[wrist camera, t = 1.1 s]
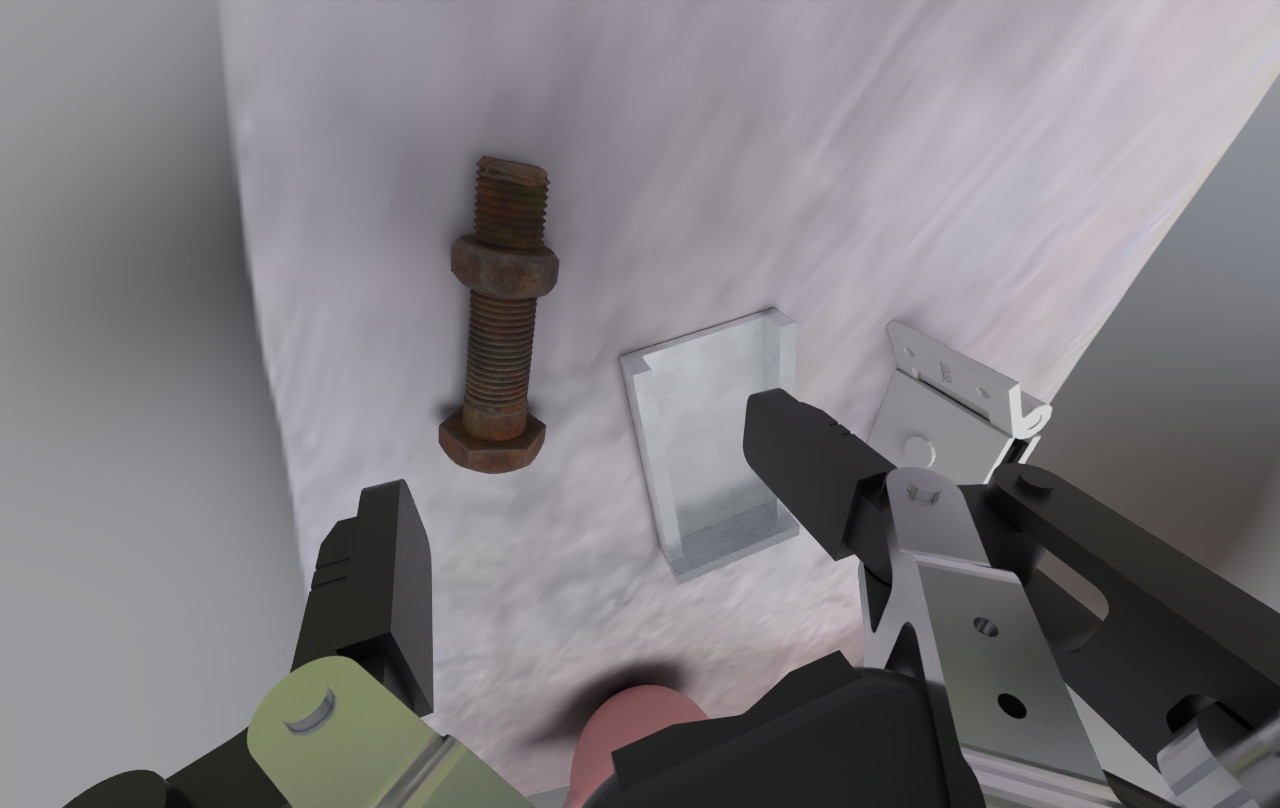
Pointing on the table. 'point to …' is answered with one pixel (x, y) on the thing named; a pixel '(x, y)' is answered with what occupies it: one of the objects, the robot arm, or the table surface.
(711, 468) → the tray
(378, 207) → the table surface
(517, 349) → the bolt
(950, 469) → the hinge
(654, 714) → the balloon
